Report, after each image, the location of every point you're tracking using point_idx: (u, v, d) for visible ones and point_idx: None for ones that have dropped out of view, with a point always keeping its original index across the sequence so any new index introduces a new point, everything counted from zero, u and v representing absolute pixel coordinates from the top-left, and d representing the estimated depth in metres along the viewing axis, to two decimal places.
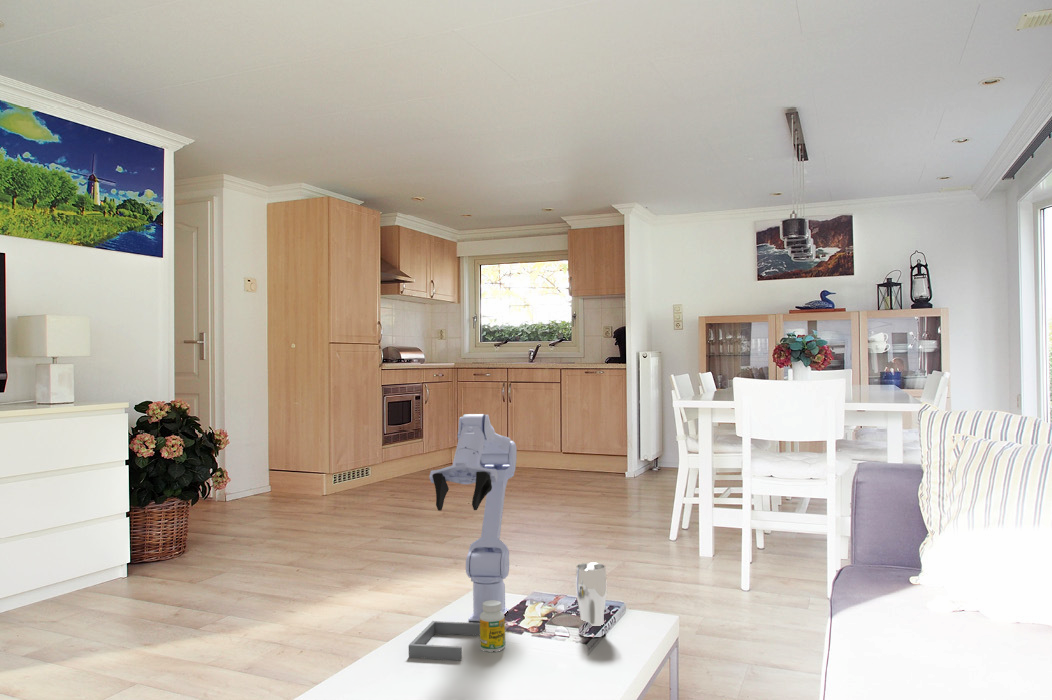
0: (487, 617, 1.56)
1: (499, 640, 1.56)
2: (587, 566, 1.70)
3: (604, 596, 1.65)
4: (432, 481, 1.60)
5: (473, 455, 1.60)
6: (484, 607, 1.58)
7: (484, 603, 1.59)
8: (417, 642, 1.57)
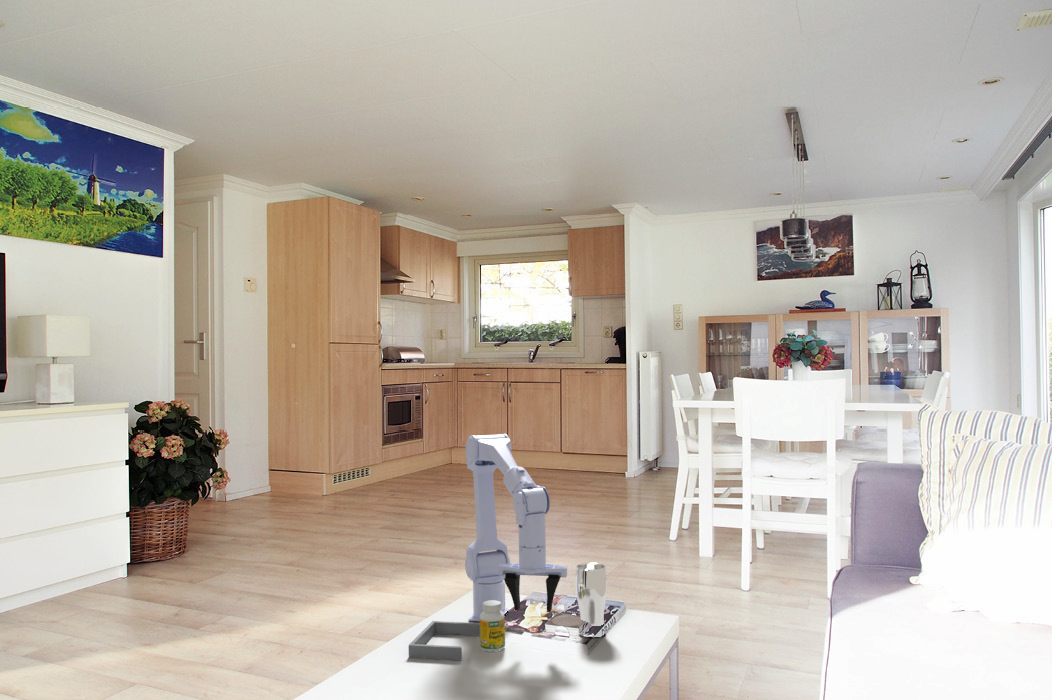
0: (487, 617, 1.56)
1: (499, 640, 1.56)
2: (587, 566, 1.70)
3: (604, 596, 1.65)
4: None
5: (539, 554, 1.55)
6: (483, 607, 1.58)
7: (484, 603, 1.59)
8: (417, 642, 1.57)
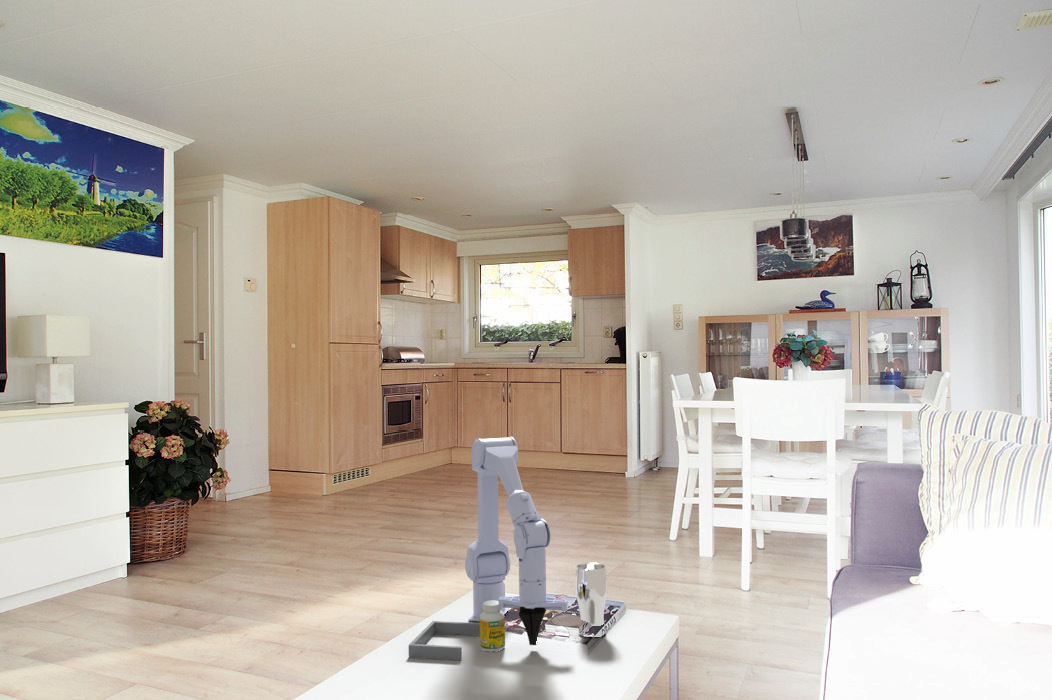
0: (487, 617, 1.56)
1: (499, 640, 1.56)
2: (587, 566, 1.70)
3: (604, 596, 1.65)
4: None
5: (540, 587, 1.55)
6: (484, 607, 1.58)
7: (484, 603, 1.59)
8: (417, 642, 1.57)
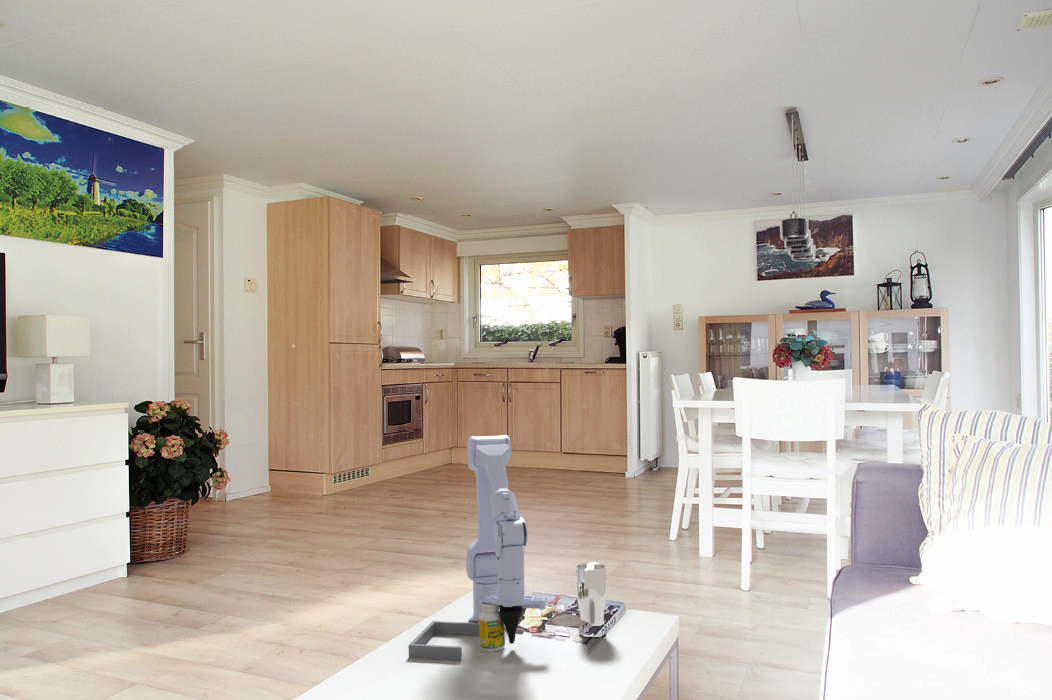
0: (486, 617, 1.56)
1: (498, 640, 1.56)
2: (587, 566, 1.70)
3: (604, 596, 1.65)
4: None
5: (518, 586, 1.56)
6: (482, 607, 1.58)
7: None
8: (417, 642, 1.57)
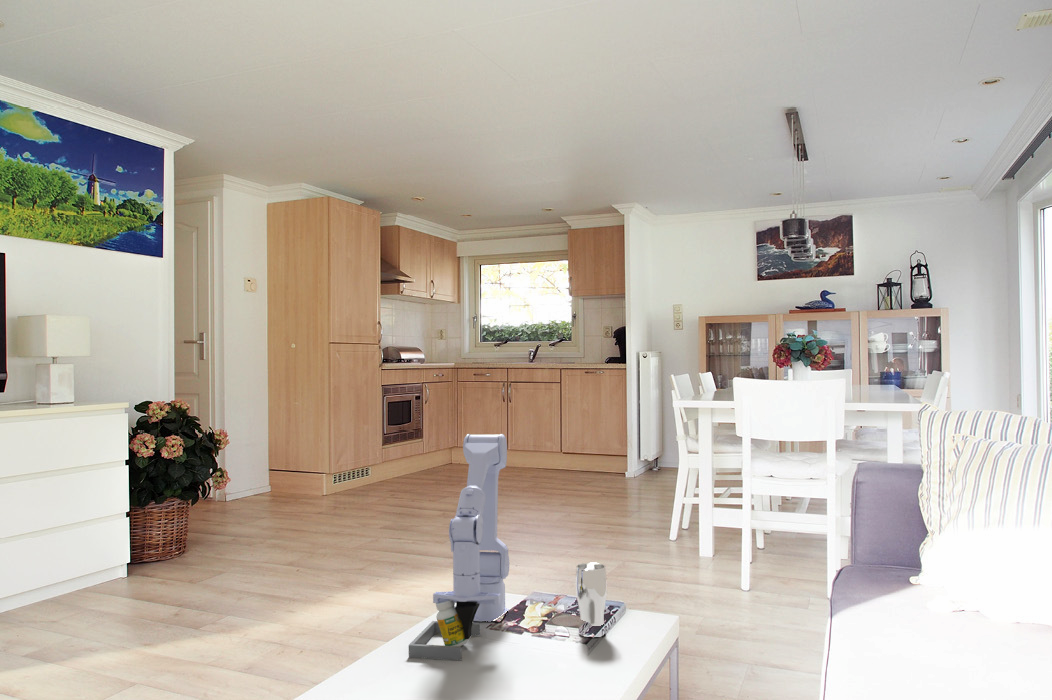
0: (442, 615, 1.58)
1: (459, 634, 1.58)
2: (587, 566, 1.70)
3: (604, 596, 1.65)
4: None
5: (473, 581, 1.57)
6: (437, 606, 1.59)
7: (437, 603, 1.60)
8: (417, 642, 1.57)
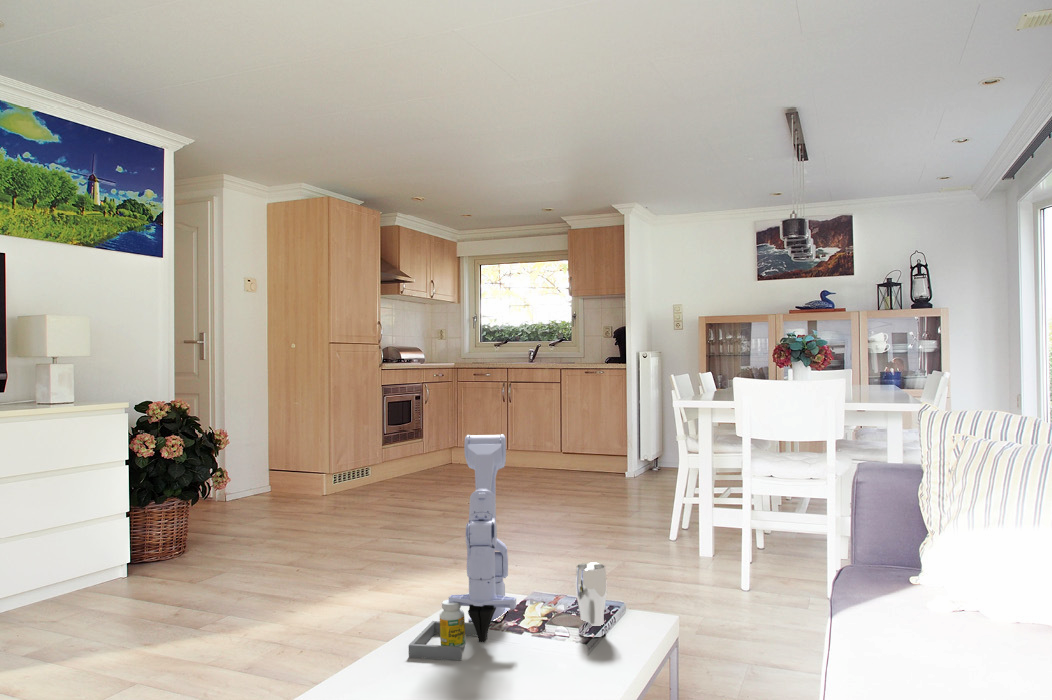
0: (447, 616, 1.58)
1: (458, 639, 1.58)
2: (587, 566, 1.70)
3: (604, 596, 1.65)
4: None
5: (488, 585, 1.57)
6: (443, 606, 1.59)
7: (444, 602, 1.60)
8: (417, 642, 1.57)
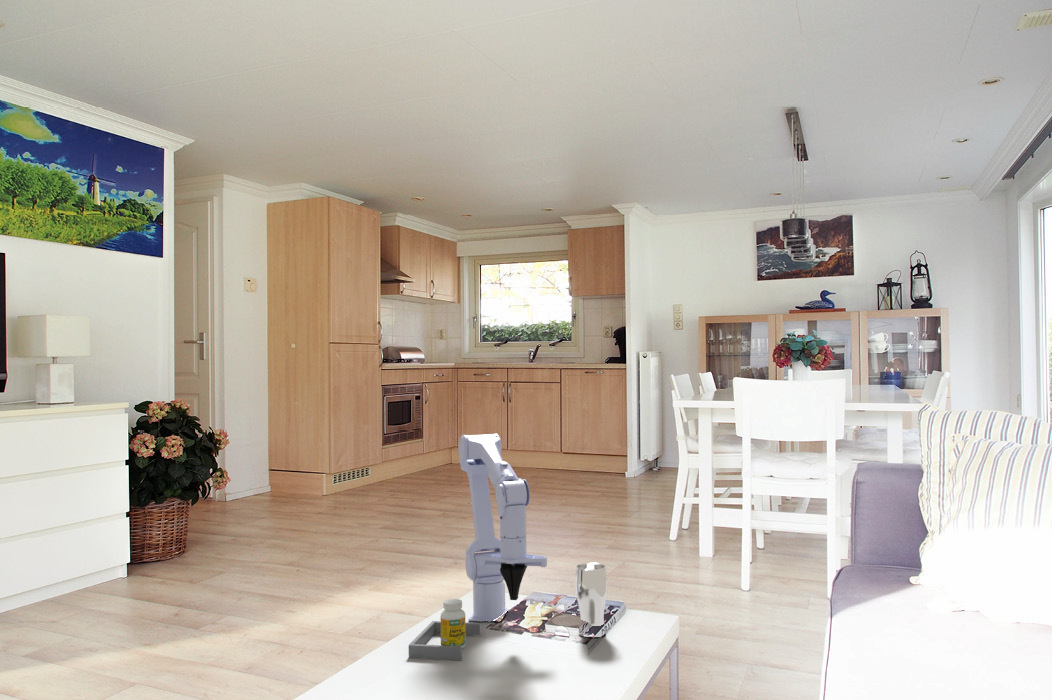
0: (448, 616, 1.58)
1: (459, 639, 1.58)
2: (587, 566, 1.70)
3: (604, 596, 1.65)
4: None
5: (520, 544, 1.60)
6: (444, 605, 1.59)
7: (445, 602, 1.60)
8: (417, 642, 1.57)
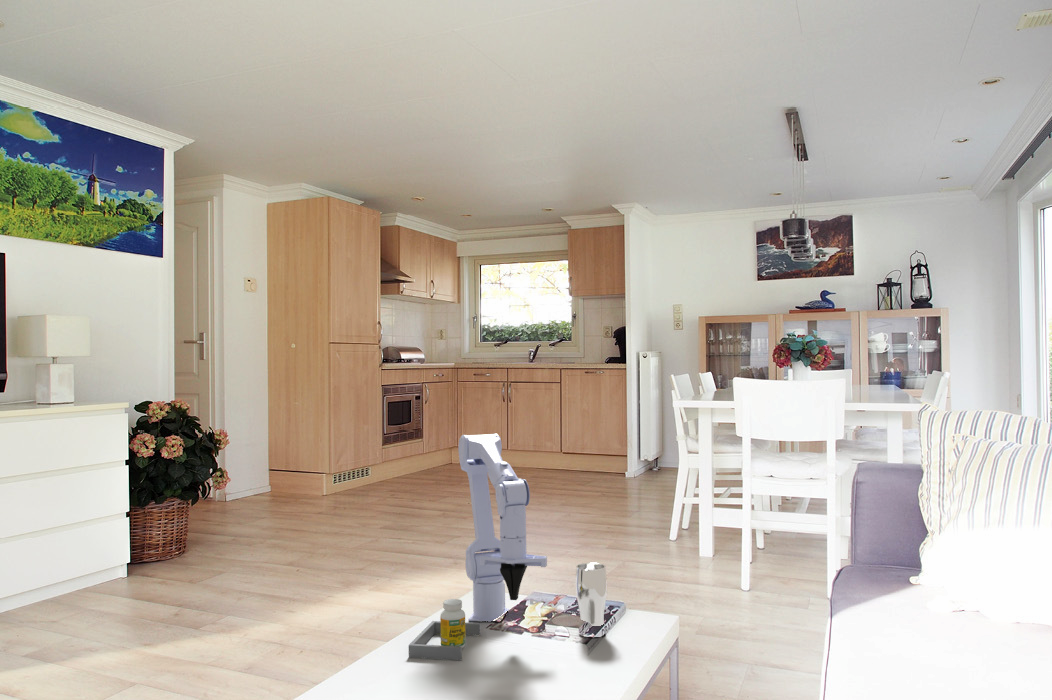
0: (448, 616, 1.58)
1: (459, 639, 1.58)
2: (587, 566, 1.70)
3: (604, 596, 1.65)
4: None
5: (520, 544, 1.60)
6: (444, 605, 1.59)
7: (445, 602, 1.60)
8: (417, 642, 1.57)
